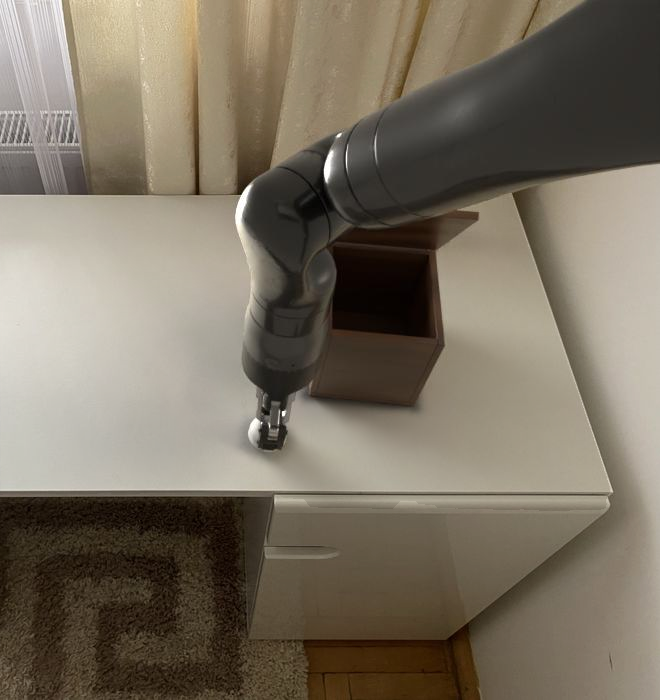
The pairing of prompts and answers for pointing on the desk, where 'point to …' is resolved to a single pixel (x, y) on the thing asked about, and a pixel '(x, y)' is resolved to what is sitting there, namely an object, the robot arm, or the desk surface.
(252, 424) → the rook chess piece
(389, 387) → the chest
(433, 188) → the robot arm
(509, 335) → the desk surface
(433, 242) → the lid
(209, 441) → the desk surface
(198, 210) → the desk surface
